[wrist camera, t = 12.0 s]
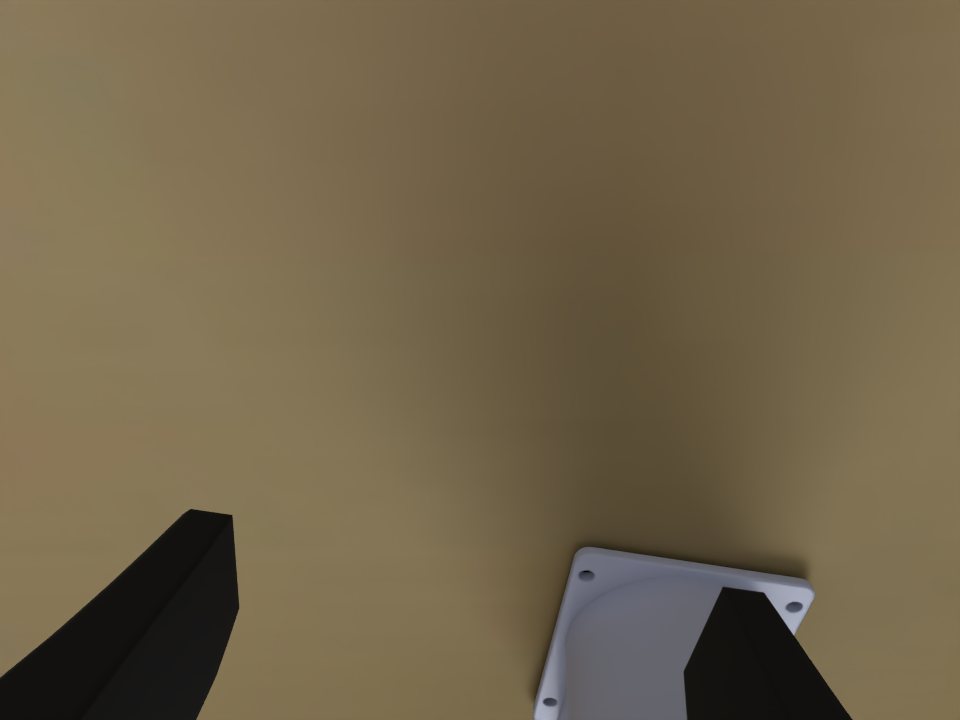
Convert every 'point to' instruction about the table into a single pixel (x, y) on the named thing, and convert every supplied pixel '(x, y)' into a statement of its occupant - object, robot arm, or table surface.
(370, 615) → the table surface
